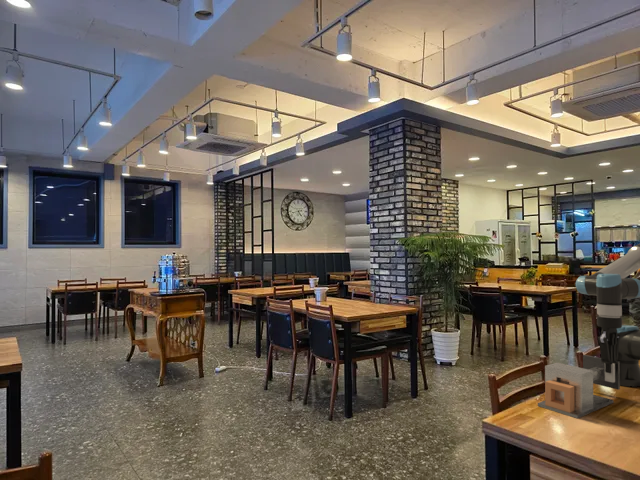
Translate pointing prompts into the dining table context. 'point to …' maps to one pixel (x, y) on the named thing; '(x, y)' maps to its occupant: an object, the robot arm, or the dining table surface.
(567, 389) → the block
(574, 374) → the block
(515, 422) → the dining table surface
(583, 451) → the dining table surface
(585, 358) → the grey crossbar bracket
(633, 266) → the robot arm
